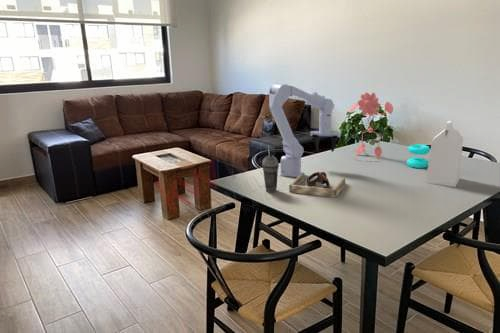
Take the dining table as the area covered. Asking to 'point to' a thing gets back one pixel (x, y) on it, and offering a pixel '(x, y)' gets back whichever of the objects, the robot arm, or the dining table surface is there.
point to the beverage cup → (270, 172)
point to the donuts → (418, 161)
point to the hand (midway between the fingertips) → (324, 150)
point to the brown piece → (318, 179)
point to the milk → (445, 157)
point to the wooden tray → (315, 188)
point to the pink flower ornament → (370, 106)
